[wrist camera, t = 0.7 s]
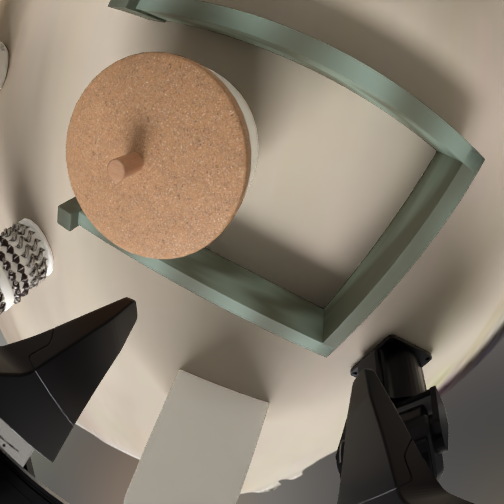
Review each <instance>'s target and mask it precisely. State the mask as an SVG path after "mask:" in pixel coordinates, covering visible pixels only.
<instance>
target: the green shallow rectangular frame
mask: <svg viewBox="0 0 504 504" xmlns="http://www.w3.org/2000/svg"><path fill="white" fill-rule="evenodd" d="M108 7H111V8H115V9H118V10H121V11H125V12H128V13H131V14H134V15H137V16H140V17H143V18H145V19H148V20H154V21H159V22H165V21H166V20H167V21H172V22H177V23H181V24H186V25H190V26H194V27H198V28H202V29H205V30H209V31H213V32H216V33H220V34H223V35H226V36H229V37H232V38H235V39H238V40H241V41H244V42H247V43H250V44H253V45H255V46H258V47H261V48H263V49H266V50H269V51H271V52H273V53H276V54H278V55H281V56H283V57H285V58H288V59H290V60H292V61H295V62H297V63H299V64H301V65H303V66H305V67H307V68H310V69H312V70H314V71H316V72H318V73H320V74H322V75H324V76H326V77H327V78H329V79H331V80H333V81H335V82H337V83H339V84H340V85H342V86H344V87H346V88H348V89H349V90H351V91H353V92H354V93H356V94H358V95H360V96H361V97H363V98H364V99H366V100H368V101H369V102H371V103H372V104H374V105H376V106H377V107H379V108H380V109H382V110H383V111H385V112H386V113H388V114H389V115H391V116H392V117H394V118H395V119H396V120H398V121H399V122H401V123H402V124H404V125H405V126H406V127H408V128H409V129H410V130H412V131H413V132H414V133H416V134H417V135H418V136H420V137H421V138H422V139H423V140H425V141H426V142H427V143H428V144H430V145H431V146H432V147H433V148H435V149H436V150H437V153H436V155H435V156H434V158H433V160H432V161H431V163H430V165H429V166H428V168H427V169H426V171H425V173H424V174H423V176H422V177H421V179H420V181H419V182H418V184H417V185H416V187H415V188H414V190H413V191H412V193H411V194H410V196H409V197H408V199H407V200H406V202H405V203H404V205H403V206H402V208H401V209H400V211H399V212H398V214H397V215H396V217H395V218H394V219H393V221H392V222H391V224H390V225H389V227H388V228H387V229H386V231H385V232H384V234H383V235H382V236H381V238H380V239H379V240H378V242H377V243H376V244H375V246H374V247H373V248H372V250H371V251H370V252H369V254H368V255H367V256H366V258H365V259H364V260H363V262H362V263H361V264H360V266H359V267H358V268H357V269H356V271H355V272H354V273H353V274H352V276H351V277H350V278H349V279H348V281H347V282H346V283H345V284H344V286H343V287H342V288H341V289H340V291H339V292H338V293H337V294H336V295H335V297H334V298H333V299H332V300H331V301H330V303H329V304H328V305H327V306H326V307H325V308H324V309H322V308H320V307H318V306H316V305H314V304H312V303H310V302H308V301H306V300H304V299H303V298H301V297H299V296H297V295H295V294H293V293H291V292H289V291H287V290H285V289H283V288H281V287H279V286H277V285H275V284H273V283H271V282H269V281H268V280H266V279H264V278H262V277H260V276H258V275H256V274H254V273H252V272H250V271H248V270H246V269H245V268H243V267H241V266H239V265H237V264H235V263H233V262H231V261H229V260H227V259H225V258H224V257H222V256H220V255H218V254H216V253H214V252H212V251H210V250H209V249H207V248H205V247H204V248H202V249H201V250H199V251H197V252H195V253H192V254H189V255H187V256H184V257H179V258H173V259H154V258H147V257H142V256H139V255H136V254H133V253H130V252H128V251H126V250H124V249H122V248H120V247H118V246H117V245H115V244H114V243H113V242H111V241H110V240H108V239H107V238H106V237H105V236H104V235H102V234H101V233H100V232H99V231H98V230H97V229H96V228H95V226H94V225H93V224H92V223H91V222H90V220H89V219H88V218H87V216H86V215H85V213H84V212H83V210H82V208H81V207H80V205H79V203H78V201H77V199H76V197H74V198H72V199H70V200H68V201H67V202H65V203H63V204H61V205H59V206H58V219H57V223H58V224H60V225H61V226H63V227H64V228H66V229H67V230H69V231H71V230H73V229H74V228H76V227H77V226H79V225H80V226H82V227H83V228H85V229H86V230H88V231H89V232H91V233H92V234H94V235H96V236H97V237H99V238H100V239H102V240H103V241H105V242H107V243H108V244H110V245H112V246H113V247H115V248H116V249H118V250H120V251H121V252H123V253H125V254H126V255H128V256H130V257H131V258H133V259H135V260H136V261H138V262H140V263H141V264H143V265H145V266H147V267H148V268H150V269H152V270H153V271H155V272H157V273H159V274H160V275H162V276H164V277H166V278H168V279H169V280H171V281H173V282H175V283H176V284H178V285H180V286H182V287H184V288H186V289H187V290H189V291H191V292H193V293H195V294H197V295H198V296H200V297H202V298H204V299H206V300H208V301H210V302H212V303H214V304H215V305H217V306H219V307H221V308H223V309H225V310H227V311H229V312H231V313H233V314H235V315H237V316H239V317H241V318H243V319H245V320H247V321H249V322H251V323H253V324H255V325H257V326H259V327H261V328H263V329H265V330H267V331H269V332H271V333H274V334H276V335H278V336H280V337H282V338H284V339H286V340H288V341H291V342H293V343H295V344H297V345H299V346H301V347H304V348H306V349H308V350H310V351H313V352H315V353H317V354H319V355H322V356H324V357H327V356H329V355H330V354H331V353H332V352H333V351H334V350H335V349H336V348H337V347H338V346H339V345H340V344H341V343H342V342H343V341H344V340H345V339H346V338H347V337H348V336H349V335H350V334H351V333H352V332H353V331H354V330H355V329H356V328H357V327H358V326H359V325H360V324H361V323H362V322H363V321H364V320H365V319H366V318H367V317H368V316H369V315H370V314H371V313H372V312H373V311H374V310H375V308H376V307H377V306H378V305H379V304H380V303H381V302H382V301H383V300H384V299H385V297H386V296H387V295H388V294H389V293H390V292H391V291H392V290H393V288H394V287H395V286H396V285H397V284H398V283H399V281H400V280H401V279H402V278H403V277H404V275H405V274H406V273H407V272H408V271H409V269H410V268H411V267H412V266H413V265H414V263H415V262H416V261H417V260H418V258H419V257H420V256H421V254H422V253H423V252H424V251H425V249H426V248H427V247H428V245H429V244H430V243H431V241H432V240H433V239H434V237H435V236H436V235H437V233H438V232H439V231H440V229H441V228H442V226H443V225H444V224H445V222H446V221H447V219H448V218H449V216H450V215H451V213H452V212H453V211H454V209H455V208H456V206H457V205H458V203H459V202H460V200H461V198H462V197H463V195H464V194H465V192H466V191H467V189H468V187H469V186H470V184H471V183H472V181H473V179H474V178H475V176H476V174H477V172H478V171H479V169H480V167H481V166H482V164H483V162H484V160H485V159H484V158H483V157H482V156H481V155H480V154H479V153H478V152H477V151H476V150H475V149H474V148H473V147H472V146H471V145H470V144H469V143H468V142H467V141H466V140H465V139H464V138H463V137H462V136H461V135H460V134H459V133H458V132H457V131H456V130H454V129H453V128H452V127H451V126H450V125H449V124H448V123H446V122H445V121H444V120H443V119H442V118H441V117H439V116H438V115H437V114H436V113H434V112H433V111H432V110H431V109H430V108H428V107H427V106H426V105H424V104H423V103H422V102H421V101H419V100H418V99H417V98H415V97H414V96H412V95H411V94H410V93H408V92H407V91H406V90H404V89H403V88H401V87H400V86H398V85H397V84H395V83H394V82H392V81H391V80H389V79H388V78H386V77H385V76H383V75H382V74H380V73H378V72H377V71H375V70H374V69H372V68H370V67H369V66H367V65H365V64H363V63H362V62H360V61H358V60H356V59H355V58H353V57H351V56H349V55H347V54H346V53H344V52H342V51H340V50H338V49H336V48H334V47H332V46H330V45H328V44H326V43H324V42H322V41H319V40H317V39H315V38H313V37H311V36H308V35H306V34H304V33H302V32H299V31H297V30H294V29H292V28H289V27H287V26H284V25H282V24H279V23H276V22H273V21H271V20H268V19H265V18H262V17H259V16H256V15H253V14H249V13H246V12H243V11H239V10H236V9H232V8H228V7H225V6H221V5H216V4H212V3H208V2H203V1H198V0H111V1H110V3H109V5H108Z"/></svg>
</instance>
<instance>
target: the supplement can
mask: <svg viewBox="0 0 504 504" xmlns="http://www.w3.org/2000/svg"><path fill="white" fill-rule="evenodd" d="M7 69H8V50H7V48H6V47H5V45H4V44H3V43H2V42H0V90H1V88H2V86H3V83H4V81H5V78H6V74H7Z"/></svg>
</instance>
